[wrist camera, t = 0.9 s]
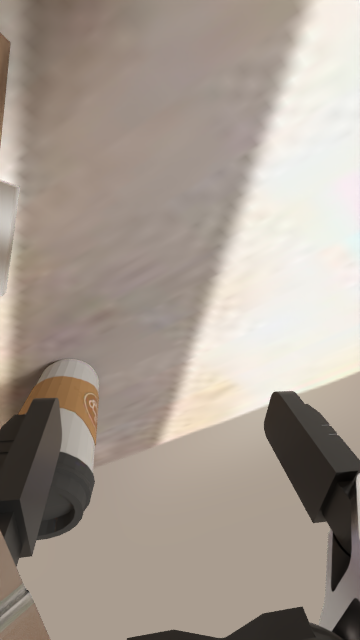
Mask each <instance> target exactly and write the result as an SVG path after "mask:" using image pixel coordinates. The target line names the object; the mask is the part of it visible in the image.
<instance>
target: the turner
mask: <svg viewBox="0 0 360 640" xmlns="http://www.w3.org/2000/svg"><path fill="white" fill-rule="evenodd" d="M9 52H10V42H9V41H8V40H7V39H6V38H5V37H4V36H3V35H2V34H1V33H0V146H1V135H2V125H3V114H4V104H5V94H6V83H7V73H8V63H9ZM19 189H20V187H19V186H17V185H14V184H11V183H8V182H6V181H3V180H0V296H3V295H4V294H5V293H6V290H7V282H8V275H9V267H10V259H11V251H12V244H13V236H14V228H15V220H16V213H17V205H18V197H19Z"/></svg>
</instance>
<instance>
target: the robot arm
mask: <svg viewBox="0 0 360 640" xmlns="http://www.w3.org/2000/svg"><path fill="white" fill-rule="evenodd" d="M264 430H265V434H266V437H267V439H268V441H269V443H270V444H271V446H272V448H273V450H274V452H275V454H276V456H277V458H278V459H279V461H280V463H281V465H282V467H283V468H284V470H285V472H286V474H287V476H288V478H289V480H290V481H291V483H292V485H293V487H294V489H295V491H296V492H297V494H298V496H299V498H300V500H301V502H302V503H303V505H304V507H305V509H306V511H307V513H308V514H309V516H310V518H311V520H312V522H313V523H318V522H326V521H327V523H328V524H329V526H330V528H331V529H330V531H329V534H328V550H327V571H326V593H325V601H324V606H323V609H322V613H321V617H320V622H319V625H316V624H313V623H309V621H308V619H307V616H306V614H305V612H304V609H303V607H297V608H292V609H286V610H280V611H275V612H269V613H264V614H262V615H260V616H259V617H257V618H256V619H254V620H253V621H251V622H249V623H248V624H246V625H245V626H243V627H241V628H240V629H238V630H237V631H235V632H234V633H232V634H231V635H229V636H227V637H226V638H215V637H210V636H204V635H199V634H194V633H189V632H183V631H178V630H170V631H164V632H158V633H153V634H147V635H142V636H136V637H132V638H127V640H360V460H359V459H358V458H357V457H356V455H355V454H354V453H353V452H352V451H351V450H350V448H349V447H348V446H347V445H346V443H345V442H344V441H343V440H342V439H341V437H340V436H338V435H337V433H336V432H335V430H334V429H333V428H332V427H331V426H329V423H328V422H327V421H326V420H325V418H324V417H323V416H322V415H321V414H320V413H319V412H318V411H317V410H315V409H314V408H312V407H311V406H310V405H308V404H304V402H303V401H302V400H301V399H300V397H299V396H298V395H297V394H296V393H295V392H293V391H282V392H274V393H273V394H272V396H271V399H270V403H269V406H268V410H267V413H266V417H265V421H264ZM61 443H62V425H61V415H60V406H59V399H58V398H34V399H33V400H32V402H31V405H30V407H29V409H28V411H27V413H26V414H23V415H14V416H13V417H12V418H11V419H10V420H9V421H8V422H7V423H6V424H5V425H4V426H2V428H1V429H0V640H50V637H49V635H48V633H47V630H46V628H45V626H44V623H43V621H42V619H41V616H40V614H39V612H38V610H37V607H36V605H35V603H34V601H33V599H32V596H31V595H30V593H29V591H28V590H26V588H25V586H24V584H23V582H22V579H21V577H20V575H19V572H18V570H17V568H16V566H17V563H18V560H19V558H21V557H29V556H32V554H33V550H34V546H35V543H36V539H37V535H38V532H39V528H40V524H41V520H42V517H43V513H44V509H45V505H46V502H47V498H48V494H49V490H50V487H51V483H52V479H53V475H54V472H55V468H56V464H57V460H58V457H59V453H60V449H61Z"/></svg>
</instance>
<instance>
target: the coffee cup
mask: <svg viewBox="0 0 360 640" xmlns="http://www.w3.org/2000/svg"><path fill="white" fill-rule="evenodd" d="M98 390H99V380H98V376H97V374H96V372H95V371H94V369H93V368H92V367H91V366H90V365H88V364H87V363H85V362H83V361H80V360H77V359H63V360H59V361H57V362H55V363H53V364H51V365H49V366H48V367H47V368H46V369H45V370H44V372H43V373H42V375H41V377H40V379H39V381H38V382H37V384H36V386H35V387H34V388H33V389H32V391H31V393H30V395H29V396H28V398H27V400H26V402H25V403H24V405H23V407H22V408H21V410H20V412H19V414H18V415H23V414H26V413H27V411H28V409H29V407H30V405H31V402H32V400H33V399H34V398H58V399H59V406H60V415H61V425H62V443H61V449H60V453H59V457H58V460H57V464H56V468H55V472H54V475H53V479H52V483H51V487H50V490H49V494H48V498H47V502H46V505H45V509H44V513H43V517H42V520H41V524H40V528H39V532H38V535H37V539H36V540H41V539H48V538H52V537H55V536H59V535H61V534H63V533H65V532H67V531H70V530H71V529H72V528H74V527H75V526H76V525H77V524H78V523H79V521H80V520H81V519H82V515H83V511H84V510H85V509H86V508H87V506H88V505H89V502H90V498H91V494H92V490H93V487H94V482H95V481H94V476H93V462H94V448H95V445H96V432H97V416H98V401H99V397H98Z"/></svg>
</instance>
